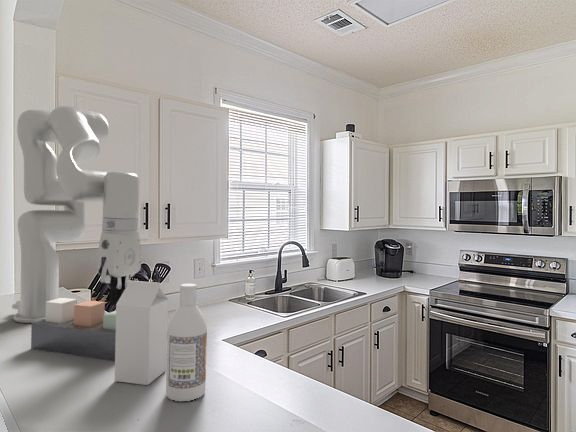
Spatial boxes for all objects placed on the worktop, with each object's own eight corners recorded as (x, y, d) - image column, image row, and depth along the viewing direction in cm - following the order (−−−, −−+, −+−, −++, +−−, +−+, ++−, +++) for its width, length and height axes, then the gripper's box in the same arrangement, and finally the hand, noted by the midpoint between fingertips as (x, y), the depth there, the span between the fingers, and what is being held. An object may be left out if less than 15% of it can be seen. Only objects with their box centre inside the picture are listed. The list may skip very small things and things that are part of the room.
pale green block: (102, 341, 91) (103, 314, 90) (116, 335, 95) (116, 310, 95) (120, 343, 89) (120, 316, 89) (133, 337, 94) (133, 311, 94)
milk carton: (147, 386, 75) (150, 286, 75) (114, 381, 77) (116, 283, 76) (166, 371, 82) (168, 279, 82) (135, 367, 84) (137, 277, 83)
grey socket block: (31, 349, 92) (31, 323, 92) (65, 335, 102) (65, 312, 102) (116, 361, 87) (117, 333, 87) (144, 346, 96) (144, 321, 96)
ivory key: (45, 326, 94) (45, 301, 94) (60, 321, 99) (61, 297, 99) (61, 328, 93) (61, 303, 93) (76, 323, 98) (76, 299, 98)
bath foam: (209, 399, 71) (212, 287, 71) (169, 406, 68) (172, 289, 68) (200, 383, 77) (202, 280, 77) (163, 389, 74) (165, 282, 74)
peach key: (73, 330, 93) (74, 304, 92) (88, 324, 97) (88, 300, 97) (90, 332, 91) (90, 306, 91) (104, 326, 96) (104, 302, 96)
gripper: (112, 228, 84) (109, 315, 84) (153, 225, 98) (150, 299, 99) (82, 226, 86) (79, 310, 86) (126, 223, 100) (124, 295, 101)
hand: (117, 304), depth 92 cm, fingers closed
